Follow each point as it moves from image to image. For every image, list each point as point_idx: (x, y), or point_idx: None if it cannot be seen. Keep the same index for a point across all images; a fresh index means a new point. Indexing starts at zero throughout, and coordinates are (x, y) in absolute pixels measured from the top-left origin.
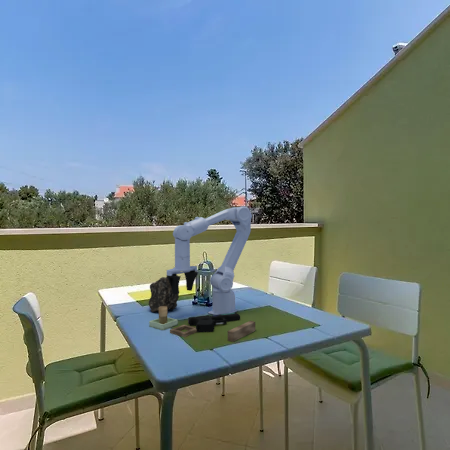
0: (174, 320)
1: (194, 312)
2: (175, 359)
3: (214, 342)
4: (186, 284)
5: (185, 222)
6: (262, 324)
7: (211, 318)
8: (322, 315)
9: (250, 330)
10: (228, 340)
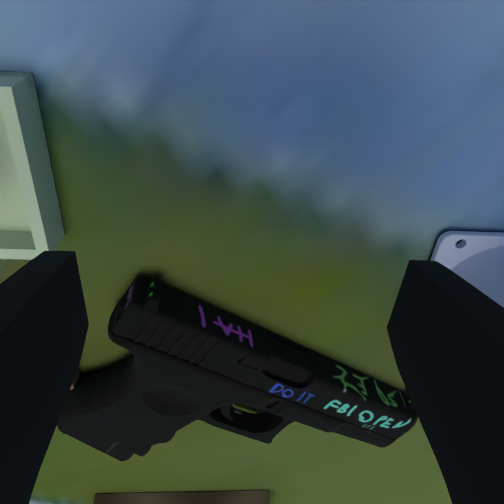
0: (17, 251)
1: (441, 109)
2: None
3: (44, 475)
4: (464, 318)
5: None
6: (357, 491)
7: (219, 406)
8: None
9: None
10: (95, 498)
